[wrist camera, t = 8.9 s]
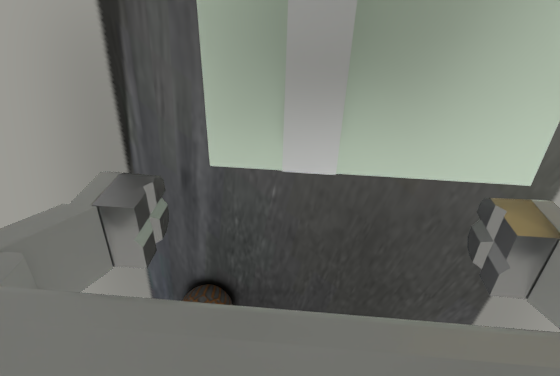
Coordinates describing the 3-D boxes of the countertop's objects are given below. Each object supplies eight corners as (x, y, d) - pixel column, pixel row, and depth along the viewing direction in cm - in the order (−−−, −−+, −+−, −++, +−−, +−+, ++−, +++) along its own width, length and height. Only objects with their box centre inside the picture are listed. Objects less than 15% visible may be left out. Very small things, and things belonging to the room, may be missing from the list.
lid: (195, -92, 19) (160, -104, 15) (632, -81, 18) (731, -89, 14) (213, 157, 27) (194, 198, 23) (522, 176, 26) (563, 222, 22)
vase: (247, 304, 50) (235, 366, 43) (204, 317, 52) (186, 378, 45) (219, 269, 47) (201, 329, 40) (174, 284, 49) (150, 344, 42)
